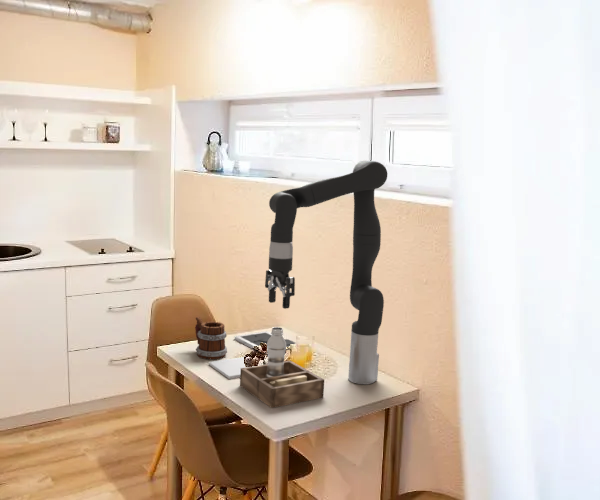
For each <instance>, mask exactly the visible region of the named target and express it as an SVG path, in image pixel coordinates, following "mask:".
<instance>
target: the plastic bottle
mask: <svg viewBox="0 0 600 500" xmlns="http://www.w3.org/2000/svg"><path fill="white" fill-rule="evenodd" d="M270 333H271V334H272V336H271V337H270V338H269V340H268V342H267V353H266V354H267V364H268V366H267V373H266V377H265V378H268V377H274V376H280V375H284V361H285V357H286V351H287V350H286V341H285V340H284V339H285V337H284V336H283V335H284V328H283V327H279V326H274V327H272V328H271V332H270Z"/></svg>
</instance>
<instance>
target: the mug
mask: <svg viewBox="0 0 600 500" xmlns="http://www.w3.org/2000/svg"><path fill="white" fill-rule="evenodd" d="M195 320H196V324H195V327H194V329H195V330H194V331H195V337H196V340H197V345H198V346H197V347H196V348H195V351H196V353H197V356H198V358H201V359H205V360H210V361H211V360H212V361H213V360H220V359H223V358H225V357H226V356H227V353H228V346H226V338H227V332H226V331H225V324H224V323H222V322H220V321H217V322H216V321H206V322H204V321H203V319H202V318H201V317H200V316H198V317H195Z"/></svg>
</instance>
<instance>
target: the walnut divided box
mask: <svg viewBox="0 0 600 500" xmlns="http://www.w3.org/2000/svg"><path fill="white" fill-rule="evenodd" d="M267 366H268V363H266V364H262V365H259V366H252V367H246V368H241V373H240V377H239V378H240V379H239V386H240V387H241V388H243V390H245V391H247V392H248V393H250V394H251V395H252V396H254V398H257V399H258V400H260V401H261V402H262V403H264V404H266V405H267V406H268V407H269V408H271V409H274V408H278V407H283V406H284V407H285V406H288V405H293V404H299V403H303V402H308V401H313V400H314V401H315V400H318V399H323V398H324V392H325V391H324V390H325V379H324V378H322V377H321V376H319V375H317V374H315V373H313V372H311V371H310V370H308V369H306V368H305V367H303V366H301V365H299V364H297V363H296V362H294V361H292V360H286V361H285V360H284V375H280V376H274V377H268V378H265V377H266V373H267ZM302 375H305V376H307V381H305V382H300V383H294V384H289V385H283V386H278V387H273V386H271V385H270V384H269V382H272V381H275V380H279V379H285V378H290V377H296V376H302Z"/></svg>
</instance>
